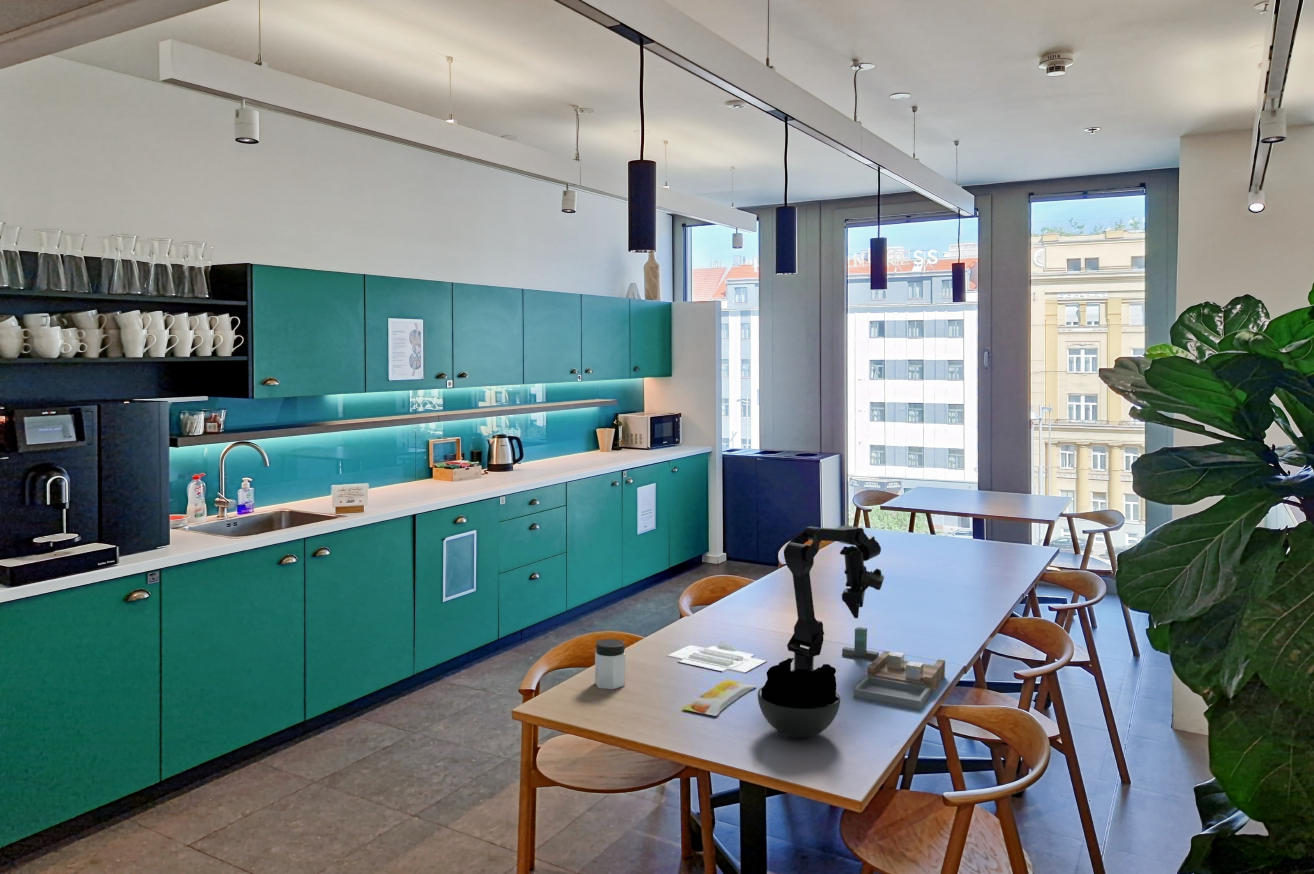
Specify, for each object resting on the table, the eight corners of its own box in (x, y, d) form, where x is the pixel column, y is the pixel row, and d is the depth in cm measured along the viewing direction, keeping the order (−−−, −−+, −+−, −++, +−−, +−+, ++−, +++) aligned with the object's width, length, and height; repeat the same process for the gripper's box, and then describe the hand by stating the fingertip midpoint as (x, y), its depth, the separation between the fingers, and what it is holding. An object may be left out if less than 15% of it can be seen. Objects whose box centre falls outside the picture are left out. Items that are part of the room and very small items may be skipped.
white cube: (900, 670, 261) (900, 656, 260) (886, 668, 263) (887, 654, 262) (904, 666, 264) (904, 653, 264) (890, 664, 266) (890, 651, 266)
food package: (725, 675, 259) (757, 681, 254) (725, 683, 259) (757, 689, 254) (681, 704, 235) (715, 711, 230) (681, 713, 235) (715, 720, 230)
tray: (740, 678, 263) (740, 665, 263) (661, 664, 279) (661, 652, 279) (772, 660, 280) (771, 649, 280) (695, 648, 296) (695, 637, 296)
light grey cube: (919, 680, 252) (920, 666, 251) (905, 678, 254) (905, 664, 253) (923, 676, 255) (923, 663, 255) (908, 674, 257) (909, 660, 257)
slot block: (930, 695, 249) (931, 677, 248) (867, 683, 258) (867, 666, 257) (944, 677, 264) (945, 660, 264) (883, 666, 273) (884, 650, 273)
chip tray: (919, 710, 237) (919, 701, 237) (853, 697, 246) (853, 689, 246) (930, 695, 248) (931, 686, 248) (866, 684, 257) (866, 675, 257)
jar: (627, 688, 252) (627, 646, 251) (598, 690, 250) (599, 648, 249) (620, 678, 260) (621, 637, 259) (593, 680, 258) (593, 639, 257)
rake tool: (876, 662, 278) (877, 632, 278) (841, 656, 284) (842, 627, 283) (878, 659, 281) (879, 629, 280) (844, 653, 286) (845, 624, 286)
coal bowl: (740, 732, 221) (741, 657, 220) (794, 713, 234) (795, 642, 233) (802, 758, 206) (803, 678, 205) (856, 737, 219) (858, 661, 218)
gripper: (876, 575, 268) (880, 625, 271) (884, 555, 285) (888, 602, 288) (839, 575, 272) (843, 623, 275) (849, 555, 289) (853, 601, 292)
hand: (858, 612), depth 282 cm, fingers open, 9 cm apart
